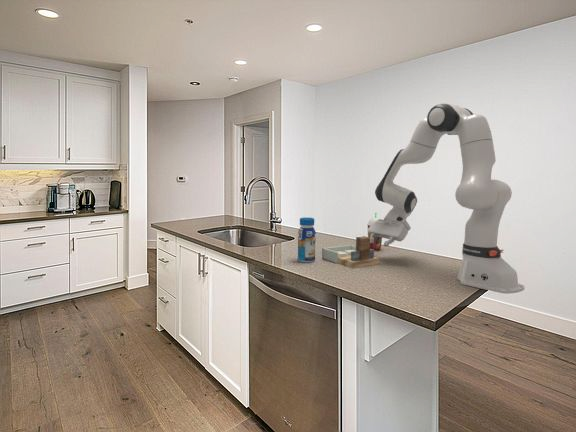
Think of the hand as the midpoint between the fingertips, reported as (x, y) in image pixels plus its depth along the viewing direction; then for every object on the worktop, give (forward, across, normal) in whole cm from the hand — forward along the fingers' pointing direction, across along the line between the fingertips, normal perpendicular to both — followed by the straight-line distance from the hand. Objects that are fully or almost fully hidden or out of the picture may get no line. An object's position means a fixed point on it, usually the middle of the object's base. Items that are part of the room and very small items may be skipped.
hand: (377, 243), depth 169 cm
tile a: (+10, -12, +2) cm, 16 cm away
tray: (+12, -13, 0) cm, 18 cm away
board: (+13, -2, 0) cm, 13 cm away
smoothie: (-7, -21, +20) cm, 30 cm away
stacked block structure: (+11, 0, -2) cm, 11 cm away
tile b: (+15, -12, -3) cm, 19 cm away
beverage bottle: (+25, -18, -13) cm, 34 cm away
